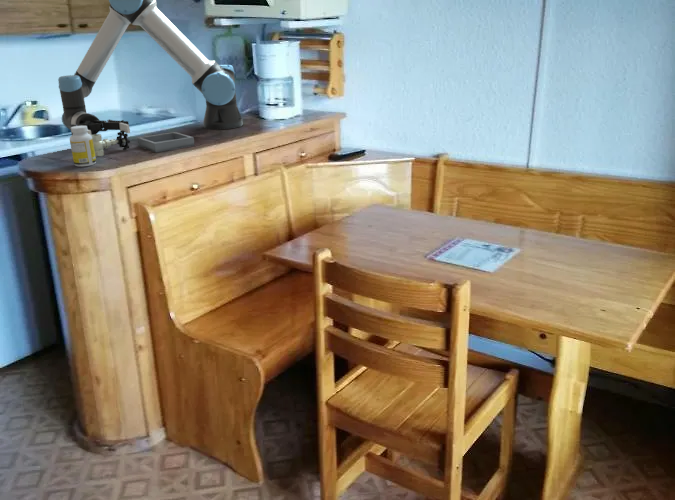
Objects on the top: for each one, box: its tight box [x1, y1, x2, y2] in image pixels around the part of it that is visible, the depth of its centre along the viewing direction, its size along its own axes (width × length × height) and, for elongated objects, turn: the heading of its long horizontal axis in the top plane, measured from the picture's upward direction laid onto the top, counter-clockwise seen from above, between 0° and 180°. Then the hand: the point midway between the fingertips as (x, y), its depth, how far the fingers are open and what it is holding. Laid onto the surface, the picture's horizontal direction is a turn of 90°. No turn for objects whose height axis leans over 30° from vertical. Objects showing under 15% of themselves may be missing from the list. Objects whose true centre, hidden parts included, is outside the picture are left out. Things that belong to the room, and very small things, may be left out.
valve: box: [92, 130, 131, 158], centre depth 215 cm, size 7×7×12 cm
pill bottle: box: [69, 126, 97, 168], centre depth 200 cm, size 6×6×12 cm
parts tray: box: [137, 131, 195, 154], centre depth 224 cm, size 14×14×3 cm
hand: (109, 132), depth 212 cm, fingers closed on valve, 12 cm apart
